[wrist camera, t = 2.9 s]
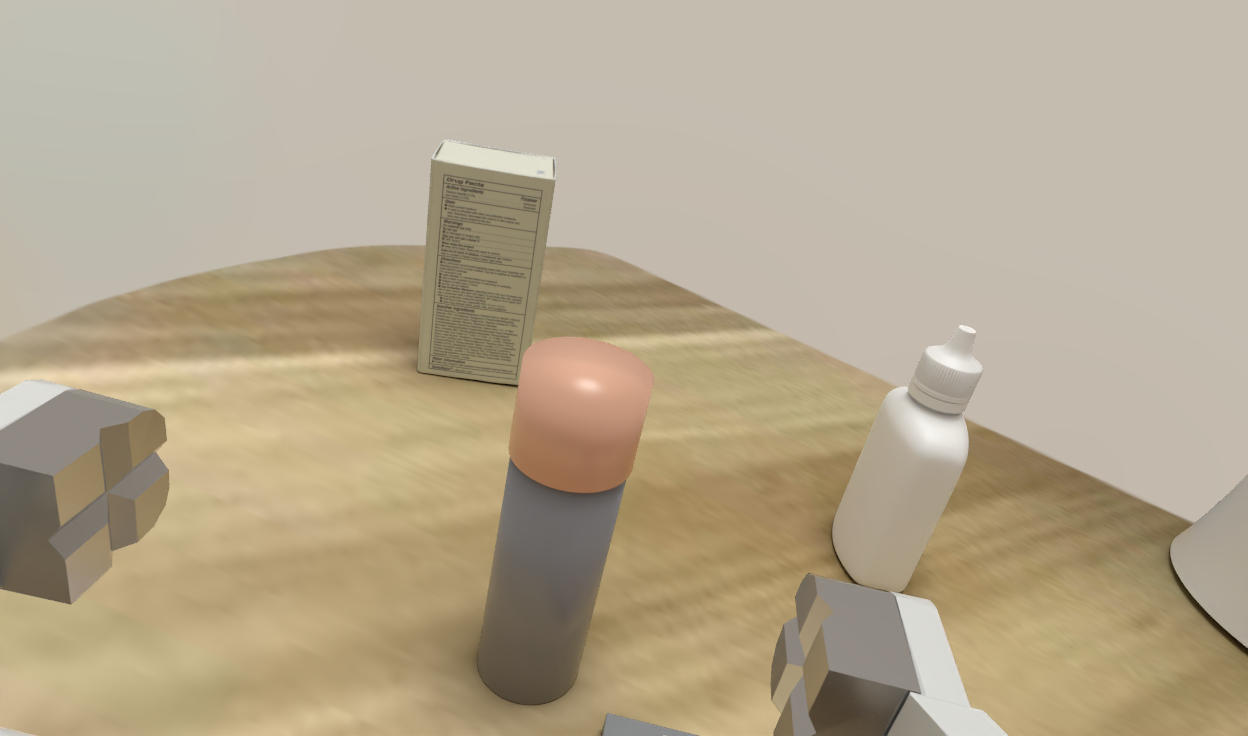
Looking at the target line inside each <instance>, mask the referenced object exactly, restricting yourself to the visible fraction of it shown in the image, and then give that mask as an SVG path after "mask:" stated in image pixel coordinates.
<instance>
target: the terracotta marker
mask: <svg viewBox="0 0 1248 736" xmlns="http://www.w3.org/2000/svg"><path fill="white" fill-rule="evenodd" d="M653 385H654V377H653V374H652V372H651V370H650V368H649V367H648V366H647V365H646V364H645V363H644V362H643V361H642V360H641V359H640V358H638V357H637V356H635V355H634V354H632V353H630V352H628V351H626V350H624V349H622V348H620V347H617V346H615V345H612V344H609V343H606V342H602V341H598V340H594V339H588V338H580V337H556V338H549V339H545V340H542V341H539V342H536V343H534V344H533V345H531V346H530V347H529V348H528V349H527V350H526V351H525V353H524V355H523V360H522V366H521V372H520V378H519V384H518V391H517V397H516V403H515V409H514V415H513V422H512V428H511V434H510V440H509V454H510V461H509V467H508V473H507V479H506V485H505V491H504V497H503V503H502V509H501V515H500V522H499V528H498V534H497V540H496V546H495V552H494V558H493V564H492V570H491V576H490V582H489V588H488V595H487V601H486V607H485V613H484V619H483V625H482V631H481V637H480V643H479V649H478V656H477V666H478V671H479V673H480V676H481V678H482V679H483V681H484V683H485V684H486V685H487V686H488V687H489V688H490V689H491V690H492V691H493V692H494V693H496V694H497V695H499V696H500V697H502V698H504V699H506V700H509V701H512V702H515V703H519V704H527V705H536V704H543V703H547V702H551V701H553V700H555V699H557V698H559V697H561V696H562V695H564V694H565V693H566V692H567V691H568V690H569V689H570V688H571V687H572V685H573V684H574V682H575V680H576V677H577V674H578V670H579V666H580V662H581V658H582V654H583V650H584V646H585V642H586V638H587V634H588V630H589V626H590V622H591V618H592V614H593V610H594V606H595V602H596V598H597V594H598V590H599V586H600V582H601V578H602V574H603V570H604V566H605V562H606V558H607V554H608V550H609V546H610V542H611V538H612V534H613V530H614V526H615V522H616V518H617V514H618V510H619V506H620V502H621V498H622V494H623V490H624V486H625V482H626V479H627V478H628V477H629V475H630V474H631V471H632V468H633V464H634V460H635V456H636V452H637V448H638V444H639V440H640V436H641V432H642V428H643V424H644V420H645V416H646V412H647V408H648V404H649V401H650V397H651V393H652V389H653Z"/></svg>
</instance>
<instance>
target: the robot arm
mask: <svg viewBox="0 0 1248 736" xmlns="http://www.w3.org/2000/svg"><path fill="white" fill-rule="evenodd" d="M166 441H167V437H166V427H165V418H164V417H163V416H162V415H161V414H160V413H158V412H157V411H156V410H154V409H151V408H147V407H143V406H140V405H136V404H132V403H129V402H125V401H121V400H118V399H114V398H110V397H107V396H103V395H99V394H96V393H92V392H88V391H85V390H81V389H78V390H77V389H75V388H72V387H69V386H65V385H61V384H57V383H53V382H49V381H45V380H25V381H24V382H22V383H20V384H18V385H16V386H15V387H13V388H11V389H9V390H7V391H5V392H4V393H2V394H0V589H3V590H7V591H12V592H16V593H21V594H25V595H30V596H34V597H39V598H44V599H48V600H53V601H57V602H62V603H66V604H72V603H73V602H75V601H76V600H77V599H78V598H79V597H80V596H81V595H82V594H83V593H84V592H85V591H86V590H87V589H88V588H89V587H91V586H92V585H93V584H94V583H95V582H96V581H97V580H98V579H99V578H100V577H101V576H102V575H103V574H104V573H106V572H107V571H108V570H109V569H110V568H111V567H112V552H113V551H114V550H117V549H120V548H122V547H125V546H128V545H131V544H134V543H137V542H138V541H139V540H140V539H141V538H142V537H143V536H144V535H145V534H146V533H147V532H148V531H149V530H150V529H151V528H152V527H154V525H155V523H156V521H157V519H158V518H159V516H160V514H161V512H162V510H163V508H164V507H165V505H166V500H167V495H168V491H169V470H168V469H167V467H166V466H165V464H164V463H163V462H162V460H161V459H160V457H159V456H158V455H157V453H156V451H157V450H158V449H159V448H160V447H161V446H162V445H163V444H164V443H165V442H166ZM1170 555H1171V560H1172V563H1173V566H1174V568H1175V570H1176V572H1177V574H1178V576H1179V578H1180V579H1181V581H1182V583H1183V584H1184V585H1185V587H1186V588H1187V590H1188V591H1189V592H1190V593H1191V595H1192V596H1193V597H1194V598H1195V599H1196V601H1197V602H1198V603H1199V604H1200V605H1201V606H1202V607H1203V608H1204V609H1205V610H1206V612H1207V613H1208V614H1209V615H1210V616H1211V617H1212V618H1214V619H1215V620H1216V621H1217V622H1218V623H1219V624H1220V625H1221V626H1222V627H1223V628H1224V629H1225V630H1226V631H1228V632H1229V633H1230V634H1231V635H1232V636H1233V637H1235V638H1236V639H1237V640H1238V641H1239V642H1241V643H1242V644H1243V645H1244V646H1246V647H1247V648H1248V474H1247V475H1246V476H1245V477H1244V479H1243V480H1242V481H1241V482H1240V483H1239V484H1238V485H1237V486H1236V487H1235V488H1234V489H1233V490H1232V491H1231V492H1230V493H1229V494H1227V495H1226V496H1225V497H1224V498H1223V499H1222V500H1221V501H1219V502H1218V503H1217V504H1216V505H1215V506H1214V507H1213V508H1212V509H1211V510H1210V511H1209V512H1208V513H1207V514H1205V515H1204V516H1203V517H1202V518H1201V519H1199V520H1198V521H1197V522H1195V523H1194V524H1193V525H1192V526H1190V527H1189V528H1187V529H1186V530H1185V531H1183V532H1182V533H1180V534H1179V535H1178V536H1177V537H1175V539H1174V540H1173V542H1172V544H1171V548H1170ZM795 601H796V611H797V617H795V618H793V619H792V620H790V621H788V622H786V623H785V624H784V625H783V628H782V631H781V633H780V636H779V639H778V641H777V644H776V649H775V653H774V658H773V663H772V671H771V700H772V702H773V704H774V705H775V706H776V708H777V709H778V710H779V712H780V713H781V716H780V718H779V721H778V723H777V725H776V728H775V730H774V732H773V733H774V736H1008V735H1007V734H1006V733H1005V732H1004V731H1003V730H1002V729H1001V728H1000V727H999V726H998V725H997V724H996V723H995V722H994V721H993V720H992V719H991V718H990V717H989V716H988V715H987V714H986V712H985V711H983V710H979V709H975V708H971V706H970V703H969V700H968V697H967V694H966V691H965V689H964V686H963V683H962V680H961V677H960V674H959V671H958V669H957V666H956V663H955V660H954V657H953V654H952V651H951V648H950V646H949V643H948V640H947V637H946V634H945V631H944V628H943V625H942V623H941V620H940V617H939V614H938V611H937V608H936V606H935V605H934V604H933V603H932V602H931V601H930V600H927V599H923V598H918V597H914V596H909V595H905V594H900V593H895V592H891V591H889V592H885V591H881V590H877V589H873V588H868V587H864V586H860V585H856V584H852V583H848V582H844V581H840V580H836V579H832V578H827V577H823V576H819V575H815V574H811V573H808V574H807V575H806V577H805V578H804V579H803V581H802V582H801V585H800V587H799V589H798V592H797V594H796V596H795ZM0 736H36V735H32V734H28V733H24V732H20V731H16V730H12V729H8V728H4V727H0Z"/></svg>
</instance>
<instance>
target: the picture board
mask: <svg viewBox="0 0 1248 736" xmlns="http://www.w3.org/2000/svg"><path fill="white" fill-rule="evenodd" d="M601 736H698V735H694V734H690V733H686V732H682V731H678V730H674V729H670V728H666V727H662V726H658V725H654V724H650V723H645V722H641V721H637V720H633V719H629V718H625V717H621V716H617V715H613V714H609V713H607V715H606V719H605V722H604V726H603V729H602V735H601Z"/></svg>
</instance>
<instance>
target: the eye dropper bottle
mask: <svg viewBox="0 0 1248 736" xmlns="http://www.w3.org/2000/svg"><path fill="white" fill-rule="evenodd" d="M975 334H976V331H975V330H974V329H972V328H970V327H968V326H964V325H960V326H958V328H957V329H956V331H955V332H954V334H953V335H952V336H951V338H950V339H949V341H948V342H947V343H946V344H944V345H942V346H929V347H927V348H926V349H925V350H924V352H923V354H922V357H921V359H920V361H919V364H918V366H917V368H916V371H915V373H914V376H913V378H912V380H911V383H910V385H909V387H899V388H895V389H893V390H892V391H890V392H889V393H888V394H887V396H886V397H885V399H884V401H883V403H882V405H881V407H880V409H879V411H878V414H877V416H876V418H875V421H874V423H873V425H872V428H871V430H870V433H869V435H868V437H867V440H866V442H865V445H864V447H863V449H862V452H861V454H860V457H859V459H858V461H857V464H856V466H855V469H854V471H853V474H852V476H851V478H850V481H849V483H848V486H847V488H846V491H845V493H844V495H843V498H842V500H841V503H840V505H839V508H838V510H837V512H836V515H835V518H834V522H833V528H832V537H833V543H834V547H835V550H836V553H837V555H838V557H839V559H840V561H841V563H842V564H843V566H844V568H845V569H846V571H847V572H848V573H849V575H850V576H851V577H852V578H853V579H854V581H856V582H857V583H858V584H860V585H863V586H865V587H870V588H874V589H879V590H884V591H891V592H895V593H900V592H901V591H903V590H904V589H905V588H906V586H907V584H908V582H909V580H910V578H911V576H912V574H913V572H914V570H915V568H916V566H917V564H918V562H919V560H920V558H921V556H922V554H923V552H924V550H925V548H926V546H927V544H928V541H929V539H930V537H931V535H932V533H933V531H934V529H935V527H936V525H937V523H938V521H939V519H940V517H941V515H942V513H943V511H944V508H945V506H946V504H947V502H948V500H949V498H950V496H951V494H952V492H953V490H954V488H955V485H956V483H957V481H958V479H959V477H960V474H961V472H962V470H963V468H964V465H965V462H966V459H967V455H968V448H969V439H968V431H967V427H966V423H965V420H964V418H963V415H962V412H963V411H965V409H966V407H967V404H968V402H969V400H970V398H971V396H972V394H973V392H974V390H975V387H976V385H977V383H978V381H979V379H980V377H981V375H982V373H983V368H982V366H981V364H980V363H979V362H978V361H977V360H976V359H975V358H973V356H972V348H973V344H974V339H975Z"/></svg>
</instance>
